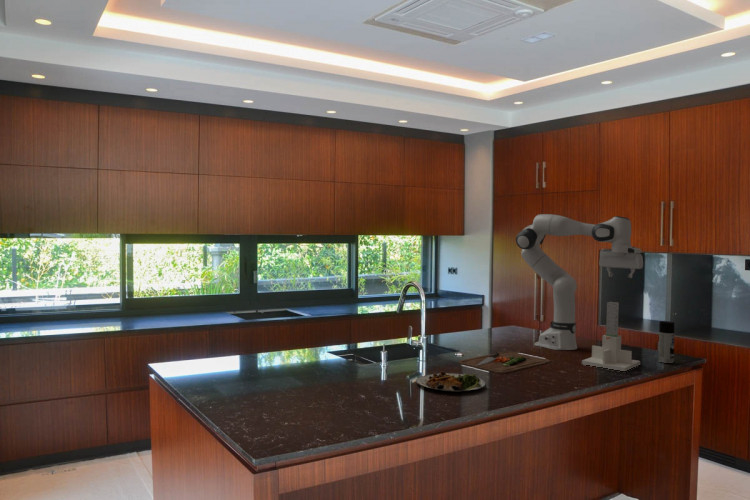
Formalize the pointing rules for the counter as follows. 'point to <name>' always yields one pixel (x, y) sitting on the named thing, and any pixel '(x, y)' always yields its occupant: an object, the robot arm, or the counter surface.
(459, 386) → the plate of food
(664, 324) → the spray can
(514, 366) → the chopping board
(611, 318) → the column
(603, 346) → the stand
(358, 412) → the counter surface
